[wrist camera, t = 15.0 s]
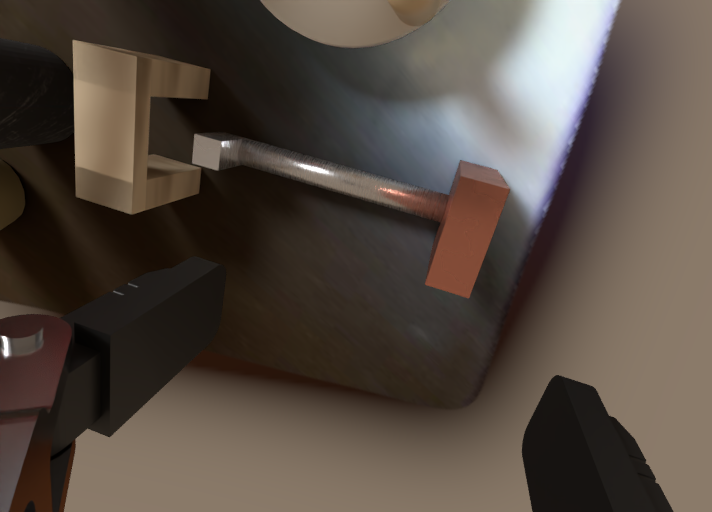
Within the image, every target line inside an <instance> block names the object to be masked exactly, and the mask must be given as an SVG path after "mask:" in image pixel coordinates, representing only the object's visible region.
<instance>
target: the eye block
mask: <svg viewBox="0 0 712 512" xmlns="http://www.w3.org/2000/svg"><path fill="white" fill-rule="evenodd" d="M210 71H211V69H207V68H204V67H200V66H196V65H192V64H188V63H184V62H181V61H177V60H173V59H169V58H165V57H161V56H157V55H151V54H146V53H141V52H135V51H130V50H124V49H119V48H114V47H108V46H103V45H98V44H92V43H87V42H81V41H76V40H73V75H74V128H75V180H76V197H78V198H81V199H84V200H88V201H91V202H94V203H97V204H100V205H103V206H106V207H109V208H113V209H116V210H119V211H122V212H125V213H128V214H131V215H132V214H135V213H139V212H142V211H145V210H148V209H151V208H154V207H158V206H161V205H164V204H167V203H170V202H174V201H177V200H180V199H183V198H186V197H189V196H193V195H196V194H199V188H200V177H201V168H199V167H196V166H192V165H189V164H186V163H182V162H179V161H175V160H172V159H169V158H165V157H162V156H159V155H155V154H153V155H148V139H149V117H150V96H151V97H171V98H191V99H208V92H209V82H210Z"/></svg>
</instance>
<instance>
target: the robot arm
mask: <svg viewBox="0 0 712 512" xmlns="http://www.w3.org/2000/svg"><path fill="white" fill-rule="evenodd" d="M225 280H226V269H225V267H224V266H223V265H220V264H217V263H214V262H211V261H208V260H205V259H202V258H199V257H191V258H189V259H187V260H186V261H184V262H182V263H180V264H178V265H177V266H175V267H173V268H171V269H169V268H166V269H162V270H158V271H153V272H149V273H145V274H143V275H141V276H139V277H138V278H136V279H134V280H132V281H130V282H128V285H126V284H124V285H122V286H120V287H118V288H116V289H115V290H114V291H113V293H112V292H109V293H107V294H105V295H103V296H101V297H99V298H97V299H95V300H94V301H92V302H90V303H88V304H86V305H84V306H82V307H80V308H78V309H76V310H74V311H72V312H71V313H69V314H67V315H65V316H63V317H61V318H57V317H54V316H49V315H41V314H27V315H18V316H12V317H7V318H3V319H0V512H64V508H65V502H66V497H67V491H68V487H69V481H70V476H71V470H72V465H73V460H74V454H75V448H76V444H75V443H76V441H75V439H76V438H77V437H78V436H79V435H80V434H81V433H83V432H84V431H85V430H86V429H87V428H88V429H91V430H93V431H95V432H98V433H100V434H103V435H105V436H108V437H110V436H111V435H113V433H114V432H116V431H117V430H118V429H119V428H120V427H121V426H122V425H123V424H124V423H125V422H126V421H127V420H129V418H131V417H132V416H133V415H134V414H135V413H136V412H137V411H138V410H139V409H140V408H141V407H142V406H143V405H144V404H146V403H147V402H148V401H149V400H150V399H151V398H152V397H153V396H154V395H155V394H156V393H157V392H158V391H159V390H160V389H162V388H163V387H164V386H165V385H166V384H167V383H168V382H169V381H170V380H171V379H172V378H173V377H174V376H175V375H177V374H178V373H179V372H180V371H181V370H182V369H183V368H184V367H185V366H186V365H187V364H188V363H189V362H190V361H191V360H193V359H194V358H195V357H196V356H197V355H198V354H199V353H200V352H201V351H202V350H203V349H204V348H205V347H206V346H207V345H208V344H209V343H210V342H211V341H212V340H213V338H214V336H215V335H216V332H217V330H218V328H219V325H220V320H221V312H222V304H223V296H224V288H225ZM522 457H523V462H524V468H525V473H526V479H527V484H528V490H529V495H530V500H531V506H532V511H533V512H673V510H672V508H671V506H670V504H669V503H668V501H667V499H666V497H665V495H664V493H663V491H662V489H661V487H660V486H659V484H657V483H655V480H656V478H655V476H654V474H653V472H652V471H651V469H650V467H649V465H647V464H646V459H645V458H644V456H643V454H642V452H641V450H640V448H639V446H638V444H637V443H636V441H635V439H634V438H633V437H632V436H631V435H630V433H628V431H627V430H626V429H625V428H624V427H623V426H622V425H621V424H620V423H619V422H618V421H617V419H616V418H614V417H611V416H609V415H608V413H607V411H606V409H605V407H604V405H603V403H602V401H601V399H600V397H599V395H598V393H597V391H596V389H595V388H594V387H593V386H590V385H587V384H584V383H581V382H578V381H575V380H572V379H569V378H565V377H562V376H559V375H556V376H554V377H553V378H552V379H551V381H550V382H549V384H548V386H547V388H546V390H545V392H544V394H543V396H542V398H541V400H540V402H539V404H538V406H537V408H536V410H535V412H534V414H533V416H532V418H531V420H530V422H529V424H528V426H527V428H526V431H525V434H524V438H523V444H522Z"/></svg>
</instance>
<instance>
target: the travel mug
mask: <svg viewBox="0 0 712 512" xmlns="http://www.w3.org/2000/svg"><path fill="white" fill-rule="evenodd" d="M74 131H75V128H74V77H73V75H72V73H71V72H70V70H69V69H68V67H67V66H66V65H65V63H64V62H63V61H62V60H61V59H60V58H59V57H58V56H56V55H55V54H54V53H52V52H51V51H49V50H47V49H45V48H42V47H40V46H36V45H32V44H27V43H22V42H17V41H12V40H7V39H2V38H0V149H4V148H12V147H21V146H30V145H39V144H47V143H54V142H58V141H62V140H64V139H66V138H68V137H69V136H70V135H71V134H72V133H73V132H74Z"/></svg>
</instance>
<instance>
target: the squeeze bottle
mask: <svg viewBox="0 0 712 512" xmlns="http://www.w3.org/2000/svg"><path fill="white" fill-rule="evenodd" d="M24 206H25V194H24V189H23V187H22V184H21V182H20V179H19V177H18V176H17V175H16V173H15V172H14V171H13V169H12V168H11V167H10V166H9V165H8V164H7V163H5V162H4V161H3V160H1V159H0V230H2V229H3V228H5V227H6V226H8V225H9V224H11V223H12V222H14V221H15V220H16V219H17V218H18V217H19V216H21V215H22V213H23V210H24Z"/></svg>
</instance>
